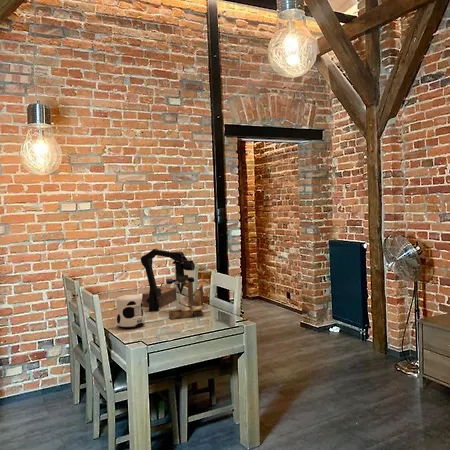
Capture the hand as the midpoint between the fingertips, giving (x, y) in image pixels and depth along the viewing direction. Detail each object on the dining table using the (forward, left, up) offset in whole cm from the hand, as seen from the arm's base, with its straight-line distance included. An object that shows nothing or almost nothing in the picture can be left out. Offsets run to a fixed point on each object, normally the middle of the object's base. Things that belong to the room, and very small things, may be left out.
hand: (180, 293), depth 304 cm
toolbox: (+1, -13, -13) cm, 18 cm away
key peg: (+11, -4, -13) cm, 17 cm away
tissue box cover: (-11, +33, -14) cm, 37 cm away
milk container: (-35, -23, -13) cm, 44 cm away
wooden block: (+13, +16, -13) cm, 25 cm away
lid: (+6, -14, -9) cm, 18 cm away
